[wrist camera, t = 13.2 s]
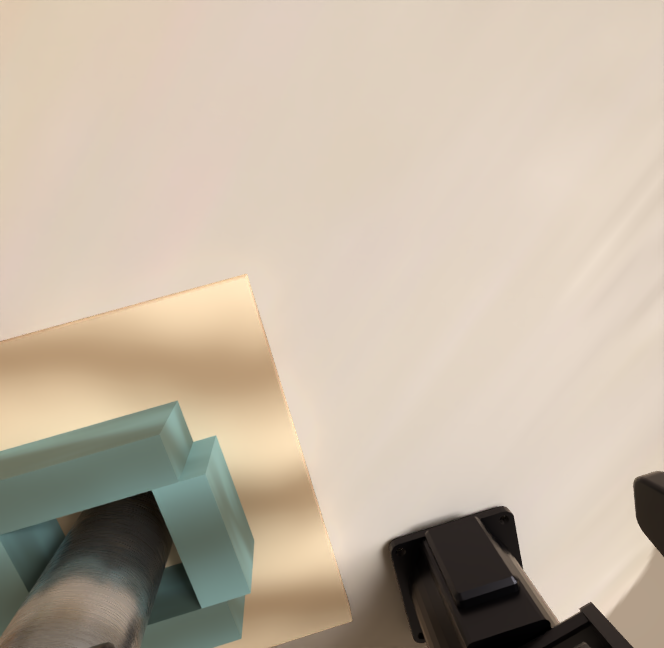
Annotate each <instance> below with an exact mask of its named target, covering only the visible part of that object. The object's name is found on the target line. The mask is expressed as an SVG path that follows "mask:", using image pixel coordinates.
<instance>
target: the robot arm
mask: <svg viewBox="0 0 664 648" xmlns="http://www.w3.org/2000/svg"><path fill="white" fill-rule="evenodd" d="M633 488H634V499H635V510H636V518H637V521H638V524H639V526H640V528H641V529H642V531H643V532H644V534H645V535H646V536H647V537H648V538H649V540H650V541H651V542H652V543H653V544H654V546H655V547H656V548H657V549H658V550H659V551H660V553H661V554H662V555H663V556H664V472H661V471H655V472H651V473H648V474H645V475H642V476H639V477H637V478H635V480H634V483H633ZM502 516H505V517H504V518H502V519H500V518H501V517H502ZM399 548H403V549H402V550H400V551H397V549H399ZM389 551H390V554H391V558H392V562H393V566H394V569H395V573H396V577H397V580H398V584H399V588H400V591H401V595H402V599H403V603H404V606H405V610H406V614H407V617H408V621H409V625H410V629H411V632H412V635H413V638H414V640H415V641H416V642H418V643H424V642H426V643H427V646H428V648H633V647H632V646H631V645H630V644H629V643H628V641H627V640H626V639H625V638H624V637H623V636H622V635H621V634H620V633H619V632H618V631H617V630H616V629H615V627H614V626H613V625H612V624H611V623H610V622H609V621H608V620H607V619H606V618H605V617H604V615H603V614H602V613H601V612H600V611H599V610H598V609H597V608H596V607H595V606H594V605H593V604H592V603H591V602H590V603H588V604H586V605H585V606H583V607H581V608H579V609H580V612H578V613H577V614H575V615H573V616H571V617H570V618H568V619H566V620H564V621H563V622H561V623H560V622H559V621H558V620H557V618H556V617H555V615H554V614H553V612H552V611H551V609H550V608H549V607H548V605H547V604H546V602H545V601H544V599H543V598H542V596H541V595H540V594H539V592H538V591H537V589H536V588H535V586H534V585H533V583H532V582H531V581H530V579H529V578H528V576H527V575H526V573H525V572H524V570H523V566H522V561H521V555H520V549H519V544H518V538H517V532H516V526H515V521H514V516H513V514H512V513H511V511H510V510H509V509H508V508H507V507H504V506H501V507H497V508H494V509H490V510H487V511H484V512H481V513H477V514H474V515H471V516H468V517H465V518H461V519H458V520H455V521H452V522H448V523H445V524H442V525H439V526H436V527H432V528H429V529H426V530H423V531H419V532H416V533H413V534H410V535H407V536H403V537H400V538H397V539H395V540H393V541H392V542H391V543H390V545H389ZM89 648H116V647H115V646H114V645H113V644H112V643H110V642H105V643H102V644H99V645H96V646H92V647H89Z"/></svg>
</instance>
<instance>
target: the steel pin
mask: <svg viewBox="0 0 664 648" xmlns="http://www.w3.org/2000/svg"><path fill="white" fill-rule="evenodd" d="M172 544H173V539H172V537H171V535H170V532H169V530H168V528H167V525H166V523H165V520H164V518H163V516H162V513H161V511H160V509H159V506H158V504H157V502H156V499H155V497H154V494H153V492H152V490H150V491H147V492H144V493H140V494H137V495H134V496H130V497H127V498H123V499H120V500H117V501H113V502H110V503H107V504H103V505H100V506H96V507H93V508H90V509H86V510H83V511H82V512H81V514H80V515H79V517H78V519H77V520H76V522H75V523H74V525H73V526H72V528H71V529H70V531H69V532H68V534H67V535H66V537H65V539H64V540H63V542H62V543H61V545H60V546H59V548H58V549H57V551H56V552H55V554H54V556H53V557H52V559H51V560H50V562H49V563H48V565H47V566H46V568H45V569H44V571H43V572H42V574H41V576H40V577H39V579H38V580H37V582H36V583H35V585H34V586H33V588H32V589H31V591H30V592H29V594H28V596H27V597H26V599H25V600H24V602H23V603H22V605H21V606H20V608H19V609H18V611H17V612H16V614H15V616H14V617H13V619H12V620H11V622H10V623H9V625H8V626H7V628H6V629H5V631H4V632H3V634H2V636H1V637H0V648H89V647H92V646H96V645H99V644H102V643H105V642H110V643H112V644H113V645H114V646H115V647H116V648H140V647H141V643H142V640H143V637H144V634H145V631H146V627H147V624H148V621H149V618H150V615H151V611H152V608H153V605H154V602H155V598H156V595H157V592H158V589H159V586H160V582H161V579H162V576H163V573H164V570H165V566H166V563H167V560H168V557H169V553H170V550H171V547H172Z"/></svg>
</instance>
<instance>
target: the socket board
mask: <svg viewBox="0 0 664 648" xmlns="http://www.w3.org/2000/svg"><path fill="white" fill-rule="evenodd" d="M150 490H152V492H153V494H154V497H155V499H156V502H157V504H158V506H159V509H160V511H161V513H162V516H163V518H164V520H165V523H166V525H167V528H168V530H169V532H170V535H171V537H172V539H173V544H172V547H171V550H170V553H169V557H168V560H167V563H166V566H165V570H164V573H163V576H162V579H161V582H160V586H159V589H158V592H157V595H156V598H155V602H154V605H153V608H152V611H151V615H150V618H149V621H148V624H147V627H146V631H145V634H144V637H143V640H142V643H141V647H140V648H270V647H274V646H277V645H280V644H283V643H286V642H289V641H292V640H296V639H299V638H302V637H305V636H308V635H311V634H314V633H317V632H321V631H324V630H327V629H330V628H333V627H336V626H339V625H343V624H346V623H349V622H352V615H351V610H350V605H349V601H348V598H347V595H346V592H345V588H344V585H343V582H342V579H341V576H340V572H339V569H338V566H337V563H336V559H335V556H334V553H333V550H332V547H331V543H330V540H329V537H328V534H327V530H326V527H325V524H324V521H323V518H322V514H321V511H320V508H319V505H318V501H317V498H316V495H315V492H314V489H313V485H312V482H311V479H310V476H309V472H308V469H307V466H306V463H305V460H304V456H303V453H302V450H301V447H300V444H299V440H298V437H297V434H296V431H295V427H294V424H293V421H292V418H291V415H290V411H289V408H288V405H287V402H286V398H285V395H284V392H283V389H282V386H281V382H280V379H279V376H278V373H277V369H276V366H275V363H274V360H273V357H272V353H271V350H270V347H269V344H268V340H267V337H266V334H265V331H264V328H263V324H262V321H261V318H260V315H259V311H258V308H257V305H256V302H255V299H254V295H253V292H252V289H251V286H250V283H249V279H248V276H247V274H244V275H241V276H237V277H233V278H230V279H226V280H223V281H219V282H215V283H212V284H208V285H204V286H201V287H197V288H193V289H190V290H186V291H182V292H179V293H175V294H171V295H168V296H164V297H160V298H157V299H153V300H149V301H146V302H142V303H138V304H135V305H131V306H127V307H124V308H120V309H116V310H113V311H109V312H106V313H102V314H98V315H95V316H91V317H87V318H84V319H80V320H76V321H73V322H69V323H65V324H62V325H58V326H54V327H51V328H47V329H43V330H40V331H36V332H32V333H29V334H25V335H21V336H18V337H14V338H10V339H7V340H3V341H0V637H1V636H2V634H3V632H4V631H5V629H6V628H7V626H8V625H9V623H10V622H11V620H12V619H13V617H14V616H15V614H16V612H17V611H18V609H19V608H20V606H21V605H22V603H23V602H24V600H25V599H26V597H27V596H28V594H29V592H30V591H31V589H32V588H33V586H34V585H35V583H36V582H37V580H38V579H39V577H40V576H41V574H42V572H43V571H44V569H45V568H46V566H47V565H48V563H49V562H50V560H51V559H52V557H53V556H54V554H55V552H56V551H57V549H58V548H59V546H60V545H61V543H62V542H63V540H64V539H65V537H66V535H67V534H68V532H69V531H70V529H71V528H72V526H73V525H74V523H75V522H76V520H77V519H78V517H79V515H80V514H81V512H82V511H83V510H86V509H90V508H93V507H96V506H100V505H103V504H107V503H110V502H113V501H117V500H120V499H123V498H127V497H130V496H134V495H137V494H140V493H144V492H147V491H150Z"/></svg>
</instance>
